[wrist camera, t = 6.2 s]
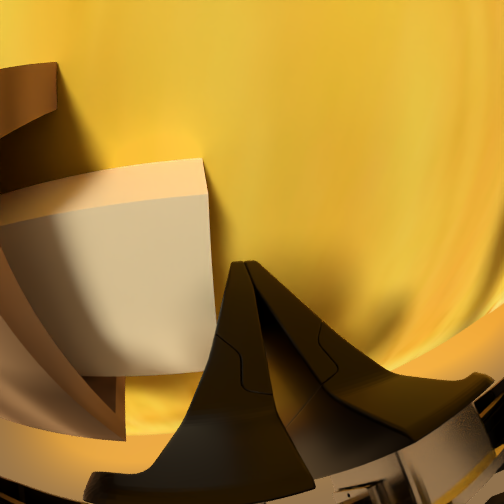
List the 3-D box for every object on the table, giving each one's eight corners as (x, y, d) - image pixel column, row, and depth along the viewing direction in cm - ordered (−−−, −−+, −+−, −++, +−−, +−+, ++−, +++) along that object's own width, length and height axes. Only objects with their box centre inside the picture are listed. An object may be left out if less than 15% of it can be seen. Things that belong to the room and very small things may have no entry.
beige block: (201, 152, 8) (208, 193, 6) (212, 315, 13) (221, 368, 11) (-27, 200, 6) (-64, 244, 4) (40, 326, 11) (29, 372, 9)
